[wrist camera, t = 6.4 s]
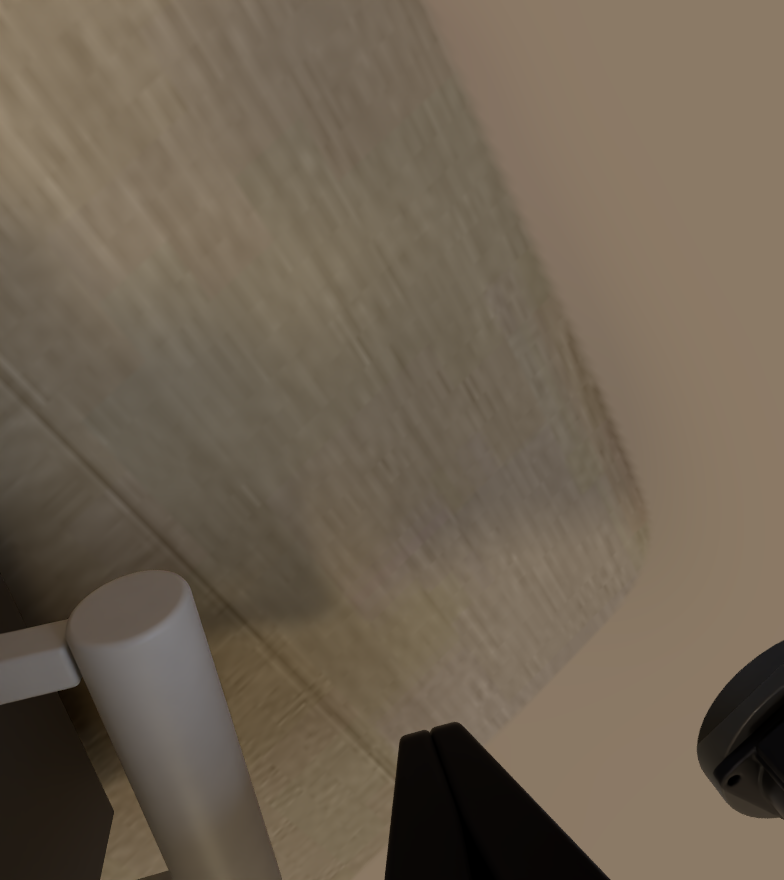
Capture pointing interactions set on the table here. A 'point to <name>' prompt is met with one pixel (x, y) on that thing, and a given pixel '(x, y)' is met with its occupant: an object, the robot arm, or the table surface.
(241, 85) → the table surface
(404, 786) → the robot arm
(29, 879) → the drawer
